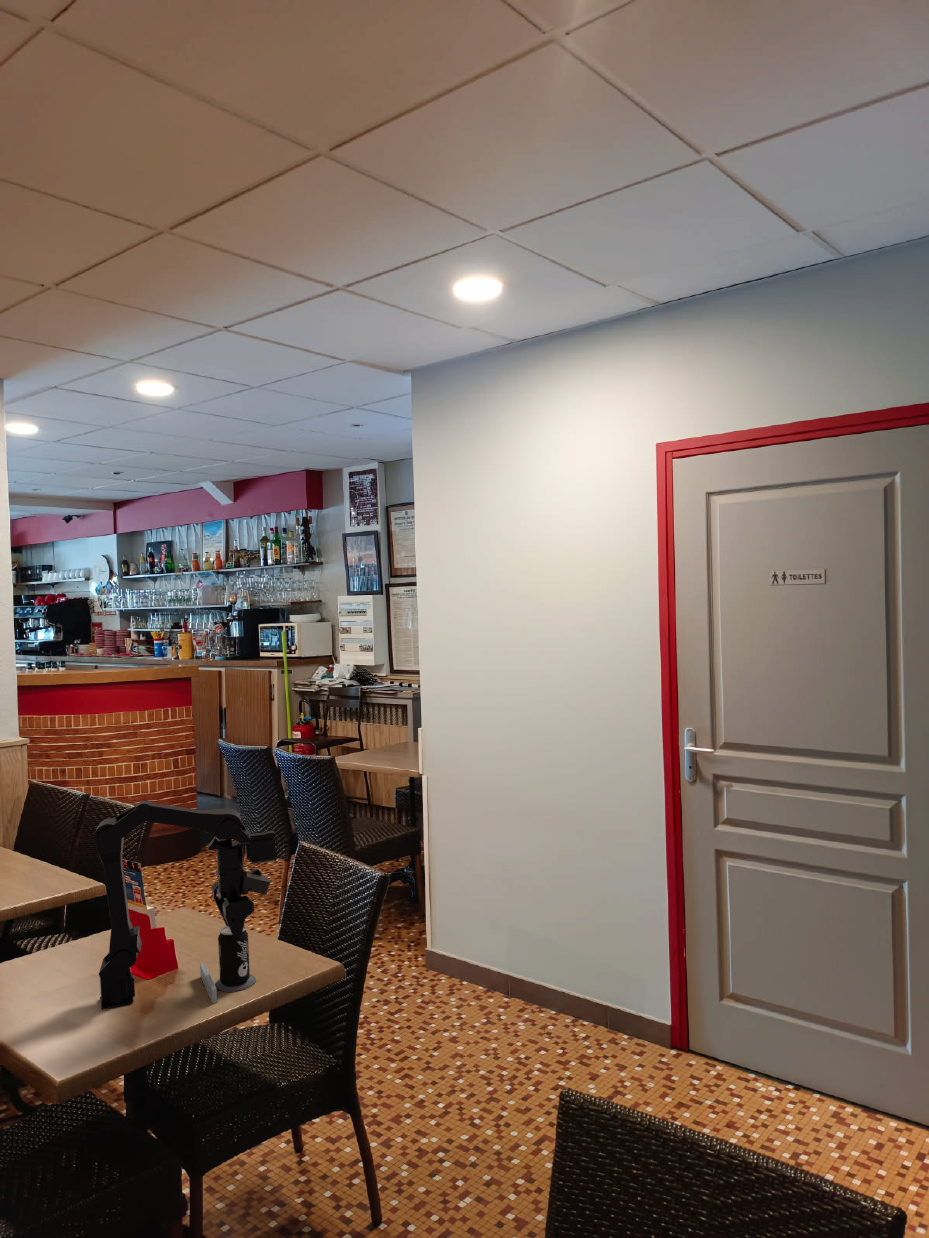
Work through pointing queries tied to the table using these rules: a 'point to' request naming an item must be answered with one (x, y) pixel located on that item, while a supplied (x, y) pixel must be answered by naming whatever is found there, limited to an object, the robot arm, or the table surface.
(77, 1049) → the table surface
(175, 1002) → the table surface
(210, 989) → the low wall
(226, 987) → the coaster mat
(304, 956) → the table surface
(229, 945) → the beverage can
